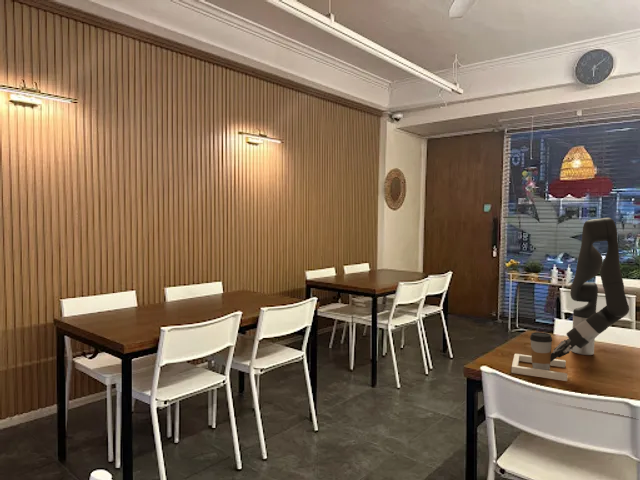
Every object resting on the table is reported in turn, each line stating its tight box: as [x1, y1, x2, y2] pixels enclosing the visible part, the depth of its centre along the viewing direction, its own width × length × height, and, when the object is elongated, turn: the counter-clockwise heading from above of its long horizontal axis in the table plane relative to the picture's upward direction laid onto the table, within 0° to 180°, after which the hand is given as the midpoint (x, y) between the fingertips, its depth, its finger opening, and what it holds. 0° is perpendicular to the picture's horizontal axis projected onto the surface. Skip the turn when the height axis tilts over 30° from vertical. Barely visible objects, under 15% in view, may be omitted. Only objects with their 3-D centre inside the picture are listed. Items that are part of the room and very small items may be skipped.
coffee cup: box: [529, 331, 553, 371], centre depth 190 cm, size 8×8×15 cm
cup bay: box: [511, 353, 568, 382], centre depth 192 cm, size 20×20×2 cm
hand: (547, 360), depth 189 cm, fingers closed
